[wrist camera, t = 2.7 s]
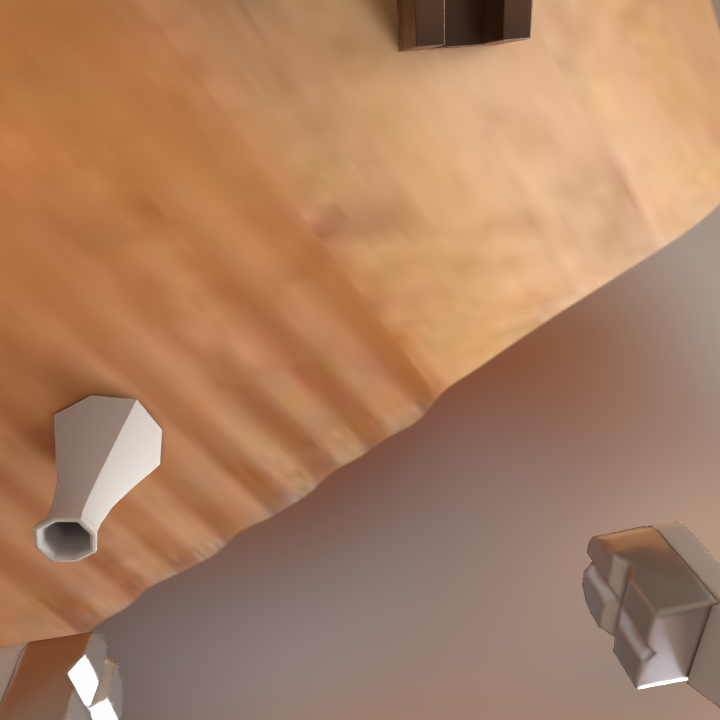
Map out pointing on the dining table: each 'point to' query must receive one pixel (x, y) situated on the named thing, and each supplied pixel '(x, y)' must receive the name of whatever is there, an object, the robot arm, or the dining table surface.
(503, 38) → the holder
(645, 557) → the robot arm
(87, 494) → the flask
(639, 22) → the dining table surface
